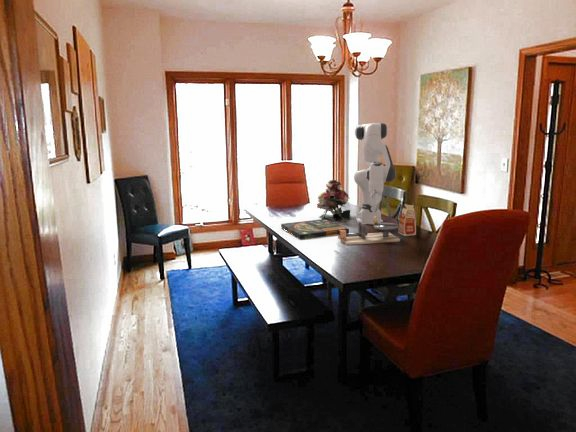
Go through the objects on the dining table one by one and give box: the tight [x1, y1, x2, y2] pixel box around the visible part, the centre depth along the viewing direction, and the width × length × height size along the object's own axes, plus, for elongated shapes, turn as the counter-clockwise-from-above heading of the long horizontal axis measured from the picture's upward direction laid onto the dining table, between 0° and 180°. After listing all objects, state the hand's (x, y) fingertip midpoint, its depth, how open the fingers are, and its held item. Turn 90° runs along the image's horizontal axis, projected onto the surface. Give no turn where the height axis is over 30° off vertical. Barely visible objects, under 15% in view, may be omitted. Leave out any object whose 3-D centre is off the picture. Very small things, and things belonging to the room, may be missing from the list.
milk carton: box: [397, 203, 417, 237], centre depth 282 cm, size 9×9×20 cm
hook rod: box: [338, 230, 368, 240], centre depth 270 cm, size 4×17×5 cm, turn 98°
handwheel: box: [372, 217, 399, 231], centre depth 270 cm, size 15×15×6 cm
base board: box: [337, 221, 401, 246], centre depth 271 cm, size 18×34×11 cm, turn 98°
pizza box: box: [280, 218, 350, 240], centre depth 299 cm, size 35×35×4 cm
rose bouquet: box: [316, 179, 351, 223], centre depth 334 cm, size 26×29×30 cm
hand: (375, 210), depth 272 cm, fingers open, 8 cm apart
